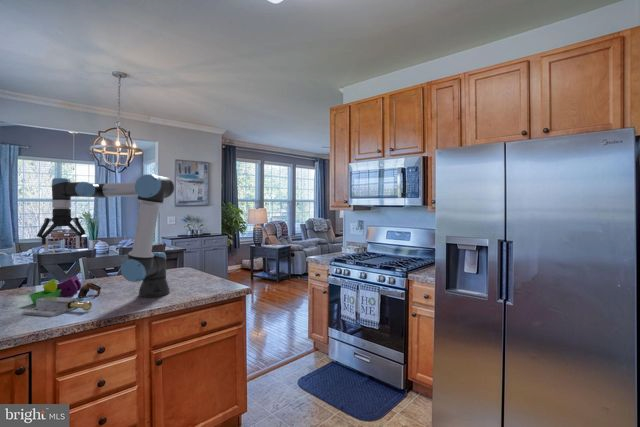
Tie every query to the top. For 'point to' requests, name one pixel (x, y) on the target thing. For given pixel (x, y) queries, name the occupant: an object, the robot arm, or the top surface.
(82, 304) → the pin
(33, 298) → the fruit basket
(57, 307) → the hinge
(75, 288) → the mounting bracket
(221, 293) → the top surface
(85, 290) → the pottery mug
